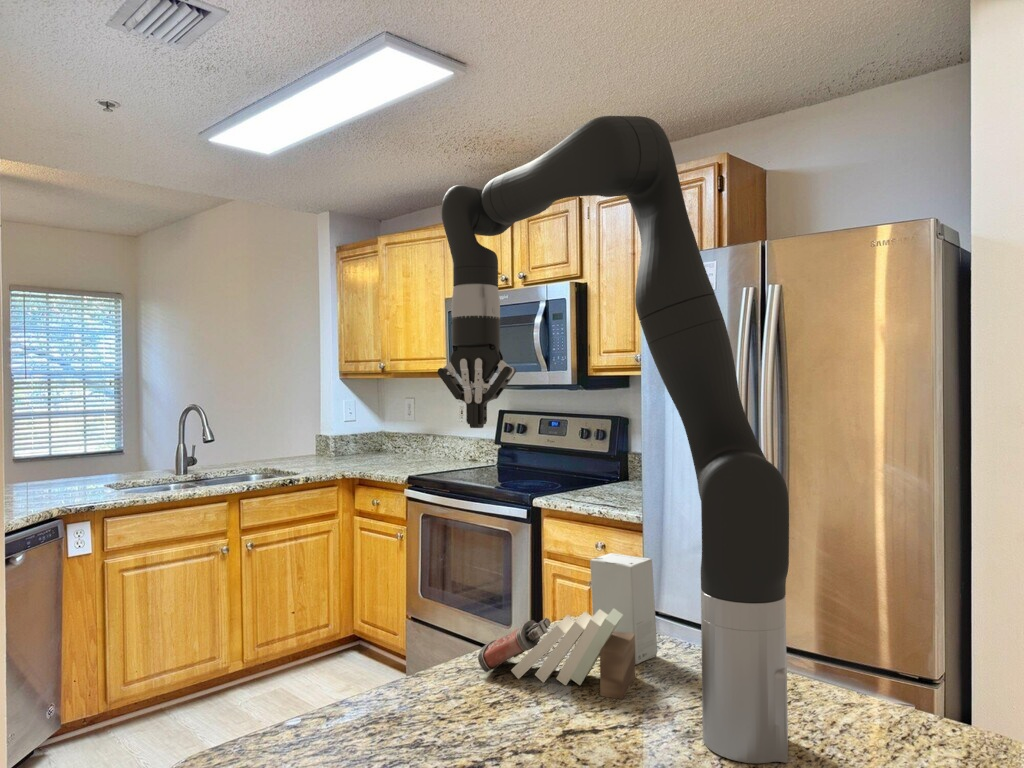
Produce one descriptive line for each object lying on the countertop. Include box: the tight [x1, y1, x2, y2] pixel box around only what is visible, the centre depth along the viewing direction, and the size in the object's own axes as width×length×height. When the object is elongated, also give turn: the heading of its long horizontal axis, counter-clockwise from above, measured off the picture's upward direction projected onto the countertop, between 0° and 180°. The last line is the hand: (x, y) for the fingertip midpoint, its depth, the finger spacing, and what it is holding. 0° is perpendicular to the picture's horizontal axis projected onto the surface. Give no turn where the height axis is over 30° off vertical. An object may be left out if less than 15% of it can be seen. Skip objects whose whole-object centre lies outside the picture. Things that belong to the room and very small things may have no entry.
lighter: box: [477, 617, 552, 673], centre depth 103 cm, size 8×3×10 cm
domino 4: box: [570, 608, 623, 686], centre depth 98 cm, size 2×5×10 cm, turn 158°
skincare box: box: [589, 552, 658, 665], centre depth 109 cm, size 8×6×15 cm
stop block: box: [599, 632, 636, 700], centre depth 97 cm, size 3×8×6 cm, turn 159°
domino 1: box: [510, 614, 575, 680], centre depth 101 cm, size 2×5×10 cm
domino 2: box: [534, 610, 593, 683], centre depth 100 cm, size 2×5×10 cm
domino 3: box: [555, 609, 608, 686], centre depth 99 cm, size 2×5×10 cm, turn 158°
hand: (476, 427), depth 110 cm, fingers closed
